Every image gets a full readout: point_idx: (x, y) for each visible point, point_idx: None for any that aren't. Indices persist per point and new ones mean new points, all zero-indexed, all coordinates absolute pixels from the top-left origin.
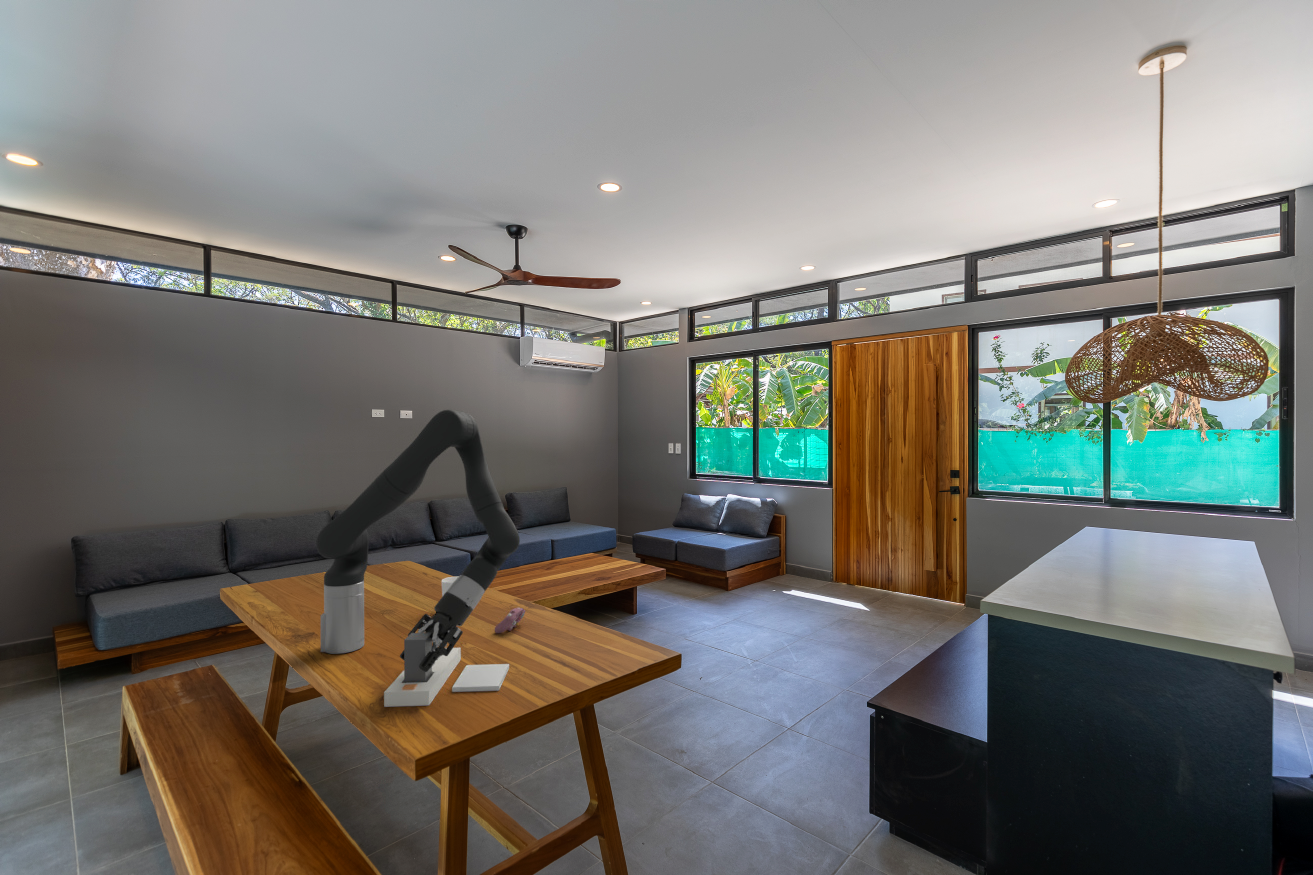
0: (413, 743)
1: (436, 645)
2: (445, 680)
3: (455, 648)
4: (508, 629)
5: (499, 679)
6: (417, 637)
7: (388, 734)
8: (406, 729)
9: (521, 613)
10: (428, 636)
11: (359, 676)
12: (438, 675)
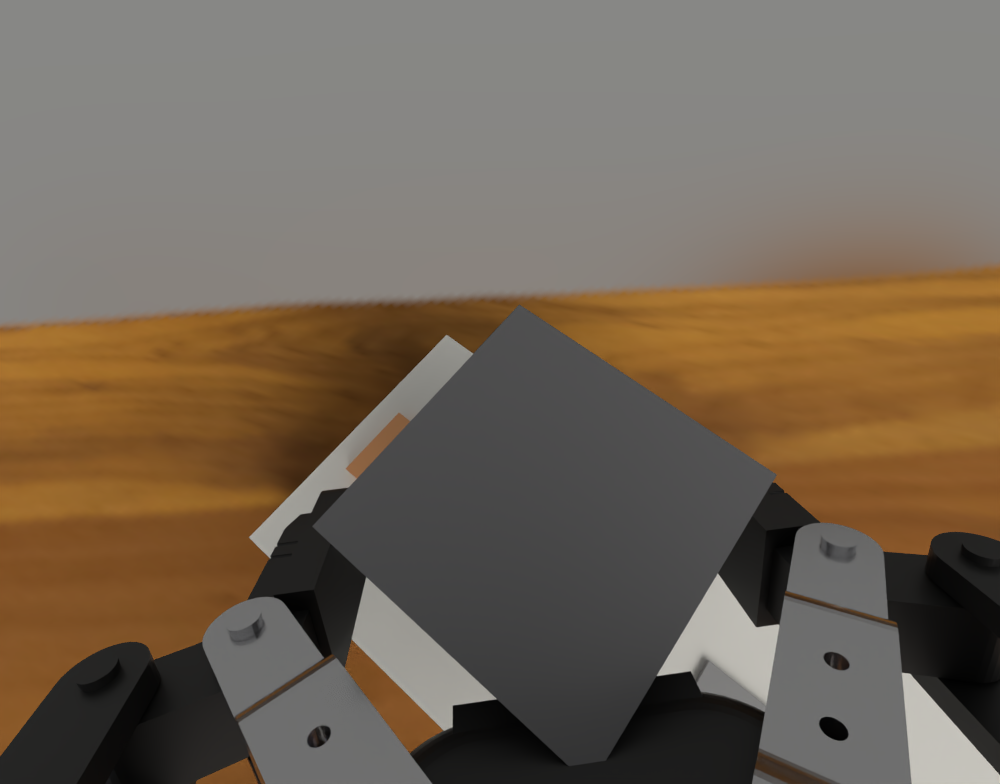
0: (18, 360)
1: (214, 673)
2: None
3: None
4: None
5: None
6: (499, 469)
7: (183, 313)
8: (153, 377)
9: None
10: (432, 636)
11: (937, 384)
12: (447, 710)
